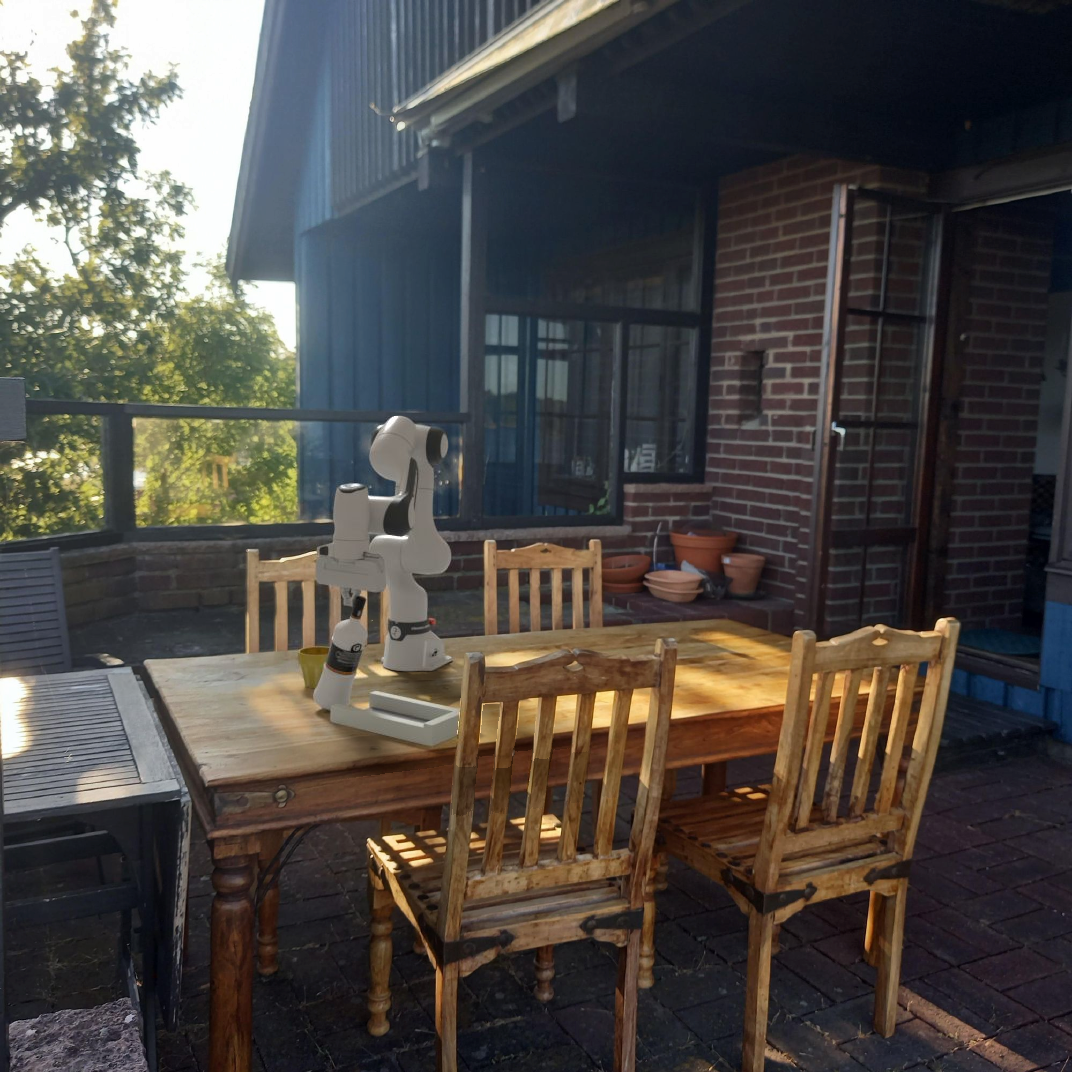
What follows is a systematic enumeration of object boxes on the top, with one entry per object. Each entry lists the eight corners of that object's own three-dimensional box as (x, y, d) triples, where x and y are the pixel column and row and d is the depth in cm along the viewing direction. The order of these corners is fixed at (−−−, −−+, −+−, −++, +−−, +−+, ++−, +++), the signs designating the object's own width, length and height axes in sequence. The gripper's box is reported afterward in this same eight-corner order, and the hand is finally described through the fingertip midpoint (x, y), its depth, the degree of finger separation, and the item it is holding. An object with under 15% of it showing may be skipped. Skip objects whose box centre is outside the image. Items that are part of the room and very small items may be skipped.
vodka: (340, 693, 269) (371, 590, 261) (353, 712, 262) (385, 607, 254) (306, 692, 264) (337, 587, 256) (319, 712, 257) (351, 605, 248)
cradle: (375, 706, 267) (375, 687, 266) (473, 728, 251) (474, 708, 251) (330, 721, 252) (330, 701, 252) (431, 746, 237) (432, 725, 236)
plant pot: (298, 691, 278) (299, 655, 277) (296, 681, 288) (297, 646, 286) (338, 689, 281) (338, 654, 279) (334, 679, 290) (335, 645, 289)
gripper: (392, 553, 253) (391, 609, 254) (329, 545, 263) (328, 598, 265) (375, 555, 247) (374, 613, 249) (311, 547, 258) (310, 602, 259)
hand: (350, 605), depth 257 cm, fingers closed
